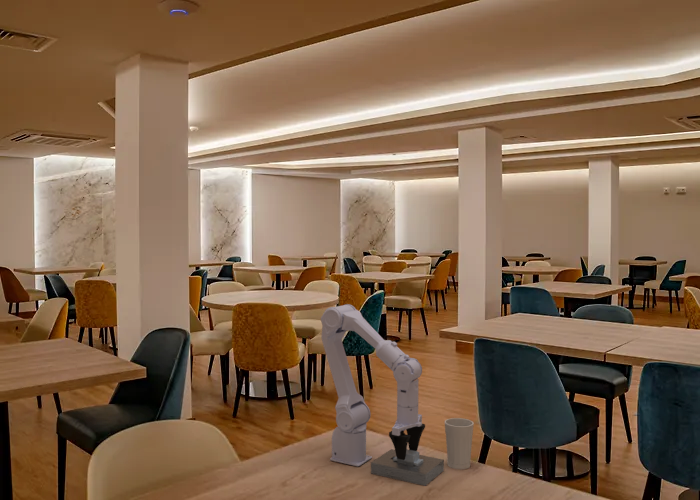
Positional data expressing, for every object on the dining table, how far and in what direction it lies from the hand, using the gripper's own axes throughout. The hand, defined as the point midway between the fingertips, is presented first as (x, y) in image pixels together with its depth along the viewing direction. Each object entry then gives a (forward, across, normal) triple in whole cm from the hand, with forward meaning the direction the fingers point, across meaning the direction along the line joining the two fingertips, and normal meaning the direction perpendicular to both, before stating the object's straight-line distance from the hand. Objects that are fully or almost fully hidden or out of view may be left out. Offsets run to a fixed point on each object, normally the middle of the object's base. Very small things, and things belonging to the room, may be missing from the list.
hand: (407, 454), depth 169 cm
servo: (+5, 0, 0) cm, 5 cm away
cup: (+5, +12, -10) cm, 16 cm away
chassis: (+5, 0, 0) cm, 5 cm away
